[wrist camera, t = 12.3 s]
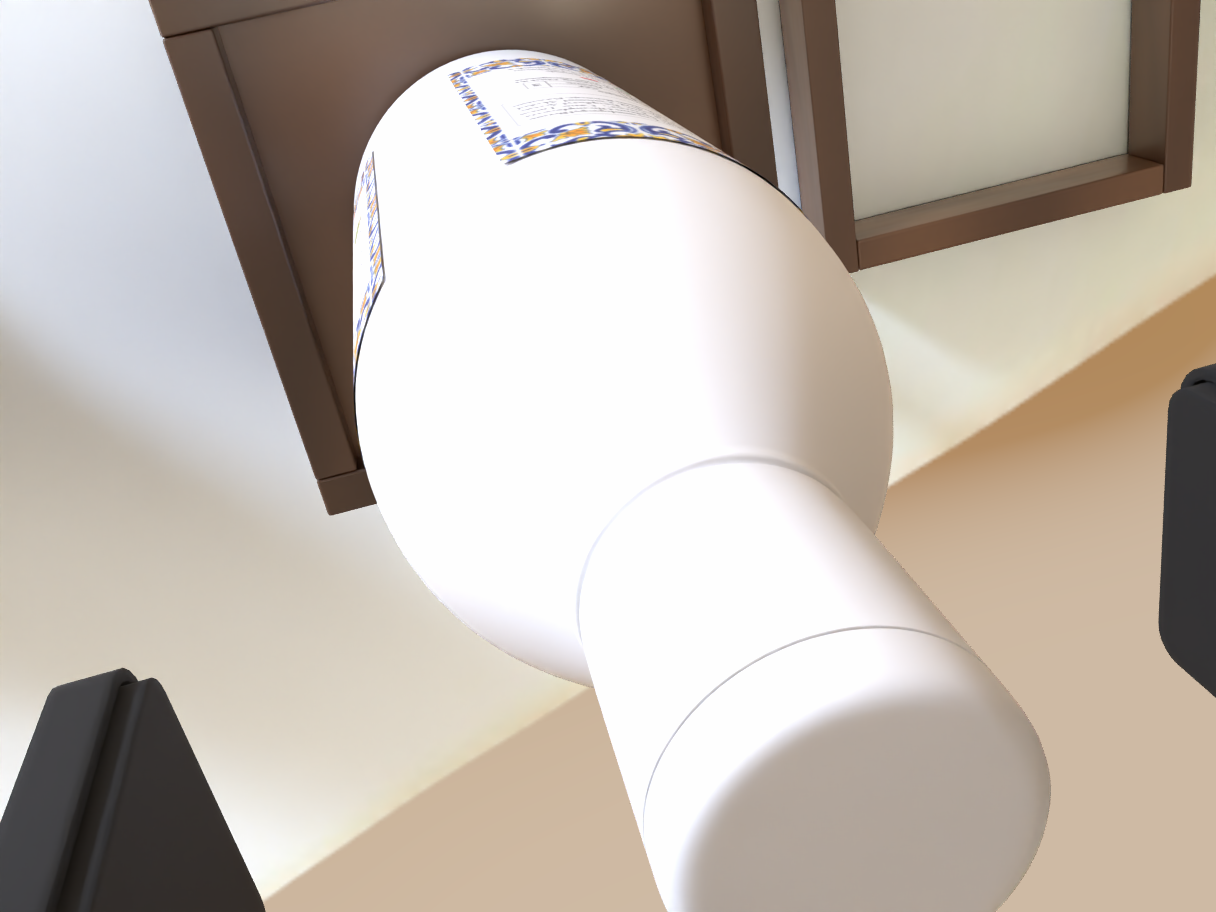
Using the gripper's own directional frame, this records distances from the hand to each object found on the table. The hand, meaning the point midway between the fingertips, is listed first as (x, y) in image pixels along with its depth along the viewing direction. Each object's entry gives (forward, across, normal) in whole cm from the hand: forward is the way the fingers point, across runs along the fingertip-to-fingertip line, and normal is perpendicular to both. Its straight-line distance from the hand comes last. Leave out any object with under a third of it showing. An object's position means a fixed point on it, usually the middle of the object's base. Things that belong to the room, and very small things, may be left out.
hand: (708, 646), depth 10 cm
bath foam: (+18, -1, 0) cm, 18 cm away
